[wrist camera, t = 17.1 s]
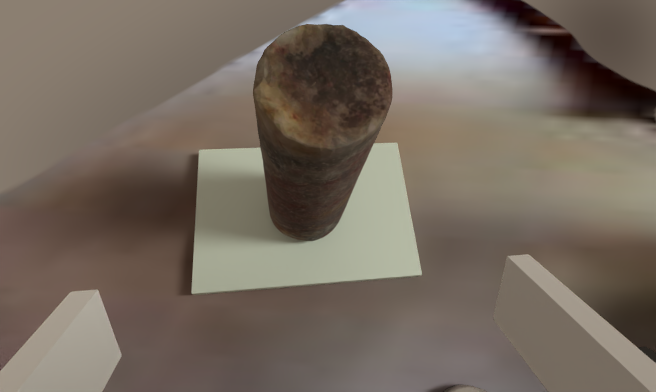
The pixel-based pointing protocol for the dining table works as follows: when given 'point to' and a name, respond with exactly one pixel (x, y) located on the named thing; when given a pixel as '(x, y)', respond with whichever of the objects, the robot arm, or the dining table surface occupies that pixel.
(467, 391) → the stanchion posts
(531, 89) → the dining table surface
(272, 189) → the rusty metal cylinder
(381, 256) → the sage board
